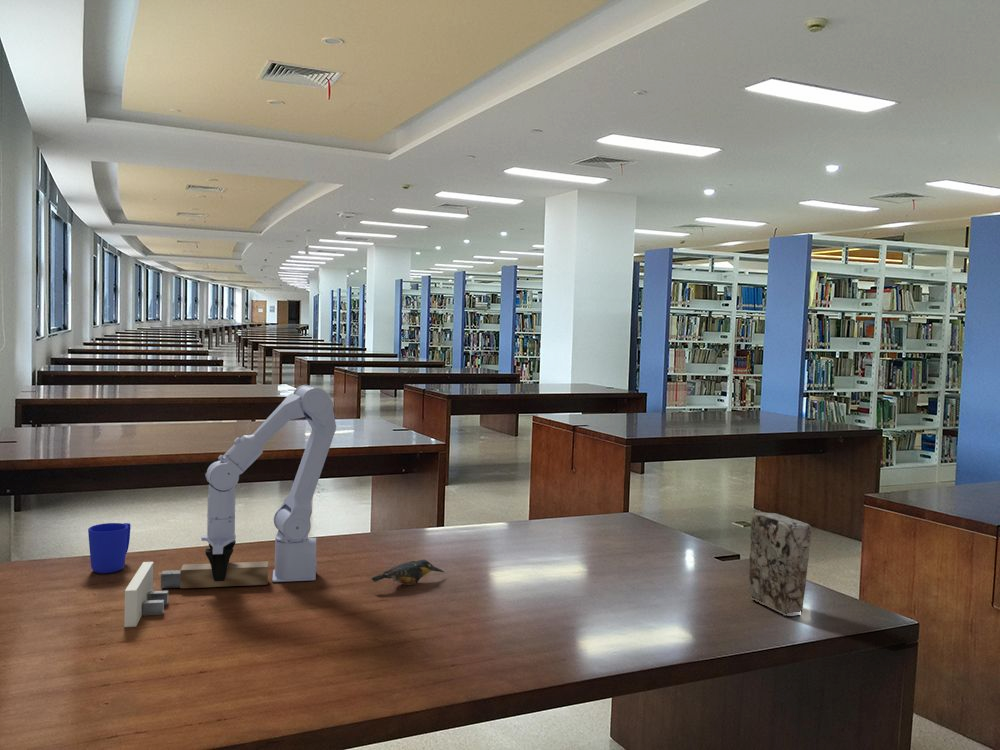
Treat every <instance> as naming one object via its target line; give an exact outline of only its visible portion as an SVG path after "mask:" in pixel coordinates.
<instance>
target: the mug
mask: <svg viewBox="0 0 1000 750" xmlns="http://www.w3.org/2000/svg"><path fill="white" fill-rule="evenodd" d="M131 527H132V526H131V523H130V522H129V523H127V522H124V523H122V522H121V523H120V522H108V523H107V522H106V523H100V524H96V525H92V526H89V527H88V529H87V532H88V546H89V559H90V568H91V570H92V571H93V572H94V573H97V574H112V573H116V572H118V571H122V569H123V568H124V567H125V563H126V555H127V553H128V551H129V545H130V539H131Z"/></svg>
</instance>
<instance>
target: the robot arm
mask: <svg viewBox="0 0 1000 750" xmlns="http://www.w3.org/2000/svg"><path fill="white" fill-rule="evenodd" d="M302 418H306V420H307V422H308V424H309V426H310V428H311V430H310V434H309V437H308V439H307V443H306V445H305V448H304V451H303V454H302V457H301V460H300V464H299V466H298V469H297V472H296V474H295V478H294V480H293V483H292V486H291V489H290V491H289V493H288V495H287V496H286V497H285V498H284V500H283V502H282V504H281V506H280V508H278V509H277V511H276V512H275V513H274V516H273V524H274V527H275V528H276V529H277V533H276V535H275V536H274V537H275V540H274V541H275V542H274V543H275V544H274V569H273V570H272V579H271V582H273V583H279V582H280V583H282V582H283V583H284V582H287V583H288V582H305V581H307V582H310V581H316V578H317V575H316V574H317V572H316V571H317V570H318V561H317V538H316V537H309V533H310V532H311V527H312V526H311V516H312V513H313V506H312V500H313V498H314V495H315V491H316V488H317V486H318V484H319V480H320V477H321V474H322V471H323V468H324V465H325V462H326V459H327V456H328V453H329V451H330V449H331V448H330V447H331V445H332V442H333V439H334V437H335V434H336V433H335V432H336V430H337V422H336V419H335V414H334V402H333V400H332V399H331V397H330V395H329V394H328V393H327V392H326V391H325V390H324V389H323V388H319V387H314V386H312V385H311V384H310V385H309V384H303V385H298V387H297V388H295V390H294V391H293V393H289V394H288V395H287V396H286V397H285V398H284V399H283V400H282V402H281V403H280V404H279V405H277V407H276V408H275V410H273V411H272V413H271V414H270V415H269V416H268V417H267V418H266V419H265V420H264V421H263V422H262V423H261V424H260V426H258V428H257V429H256V430H255V431H254V432H253V433H252V434H248V435H247V434H244V435H243V436H241V437H236V438H235V439H234V441H233V442H234V444H233V445H232V446H231V447H230V448H229V449H228V450H227V451H226V452H225V453H224V454H223V455H222V454H220V455H219V456H218V458H217V459H218V460H217V461H214V462H212V463H211V464H210V465H209V466H208V468H207V470H206V472H205V473H204V475H205V479H206V481H207V482H208V483H209V484H208V489H207V492H208V495H207V515H206V516H207V523H206V525H207V527H206V531H207V532H206V535H202V536H201V538H200V539H201V542H202V541H203V542H207V543H208V547H209V548H206V549H205V551H204V552H205V555H206V558H207V559H208V561H209V564H211V568H212V574H213V578H214V581H224V580H225V577H226V572H227V566H228V563H230V559H231V556H232V554H233V552H234V547H235V545H236V541H237V540H236V539H237V536H236V495H235V494H236V493H235V491H236V486H237V485H238V482H239V480H240V475H242V474H243V473H244V472H246V470H247V469H248V468H249V467H251V465H252V464H254V462H256V460H258V458H259V457H260V456H261V455H262V454H264V444H265V443H267V441H269V440H270V439H271V438H273V436H274V435H275V434H276V433H277V432H278V431H280V430H281V429H282V428H283V427H284V426H285V425H286V424H287V423H289V422H290V421H291V420H297V419H302Z"/></svg>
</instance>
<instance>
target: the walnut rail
mask: <svg viewBox="0 0 1000 750" xmlns="http://www.w3.org/2000/svg"><path fill="white" fill-rule="evenodd" d="M268 581H269V561H267V560H265V561H263V560H262V561H246V562H245V561H243V562H242V561H240V562H229V563H228V566H227V572H226V577H225V580H224V581H214V578H213V574H212V568H211V564H210V563H190V564H189V563H187V564H186V563H185V564H182V566H181V567H180V570H179V569H178V570H177V569H175V570H162V571H161V574H160V589H171V588H180V589H198V588H199V589H200V588H217V587H220V588H221V587H223V588H224V587H238V586H240V587H241V586H242V587H243V586H264V585H268Z"/></svg>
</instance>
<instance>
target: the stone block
mask: <svg viewBox="0 0 1000 750" xmlns="http://www.w3.org/2000/svg"><path fill="white" fill-rule="evenodd" d="M811 528H812V527H811V525H810V524H809V523H807V522H803V521H801V520H798V519H794V518H791V517H788V516H786V515H782V514H779V513H774V512H755V513H754V514H753V515H752V517H751V524H750V536H749V537H750V541H751V542H750V552H749V573H748V575H749V578H748V579H749V580H748V582H749V591H750V597H752V598H754V599H757V600H759V601H761V602H763V603H765V604H767V605H769V606H770V607H772V608H775V609H777V610H779V611H781V612H782V613H785V614H787V613H793V612H800V611H802V612H803V607H804V598H805V592H806V587H807V586H806V585H807V583H806V582H807V574H808V567H809V566H808V565H809V560H810V559H809V558H810V546H811V538H812V529H811Z"/></svg>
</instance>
